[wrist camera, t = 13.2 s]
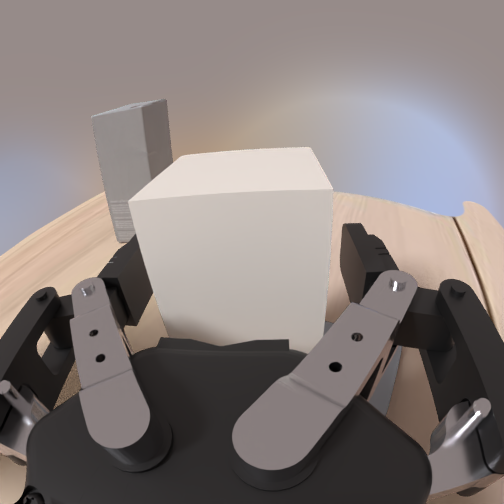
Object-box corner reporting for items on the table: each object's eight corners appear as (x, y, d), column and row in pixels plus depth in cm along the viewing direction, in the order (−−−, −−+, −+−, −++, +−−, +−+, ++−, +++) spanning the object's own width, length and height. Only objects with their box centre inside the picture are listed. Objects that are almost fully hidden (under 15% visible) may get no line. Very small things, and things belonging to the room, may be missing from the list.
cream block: (208, 430, 13) (127, 201, 7) (221, 359, 17) (182, 155, 11) (308, 432, 13) (333, 189, 7) (304, 358, 17) (309, 147, 11)
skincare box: (139, 216, 41) (118, 107, 33) (186, 212, 40) (169, 96, 32) (114, 246, 34) (83, 115, 25) (168, 243, 33) (142, 99, 25)
